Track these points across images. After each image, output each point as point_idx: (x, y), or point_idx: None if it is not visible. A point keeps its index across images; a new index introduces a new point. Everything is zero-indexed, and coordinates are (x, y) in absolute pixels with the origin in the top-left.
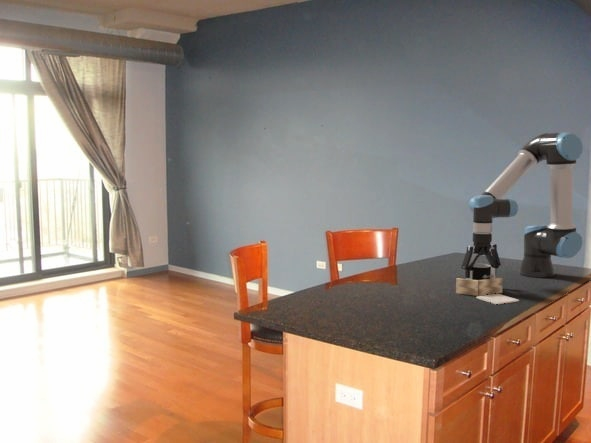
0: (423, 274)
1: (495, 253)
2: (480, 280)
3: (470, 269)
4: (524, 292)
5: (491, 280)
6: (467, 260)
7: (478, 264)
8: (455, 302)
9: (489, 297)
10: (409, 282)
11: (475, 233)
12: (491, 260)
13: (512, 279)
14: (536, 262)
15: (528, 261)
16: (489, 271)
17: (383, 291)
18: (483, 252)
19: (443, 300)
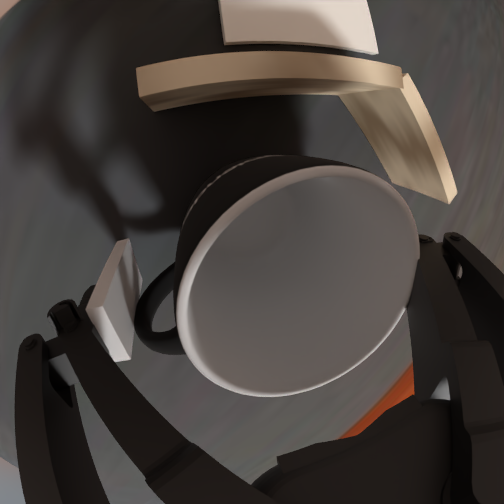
0: (293, 438)
1: (52, 479)
2: (389, 72)
3: (420, 237)
4: (26, 86)
5: (286, 53)
6: (499, 275)
7: (256, 384)
8: (451, 64)
9: (330, 7)
10: (398, 358)
11: None
12: (131, 383)
13: (3, 359)
14: None
15: None
16: (242, 173)
17: None
18: (386, 468)
19: (466, 107)
